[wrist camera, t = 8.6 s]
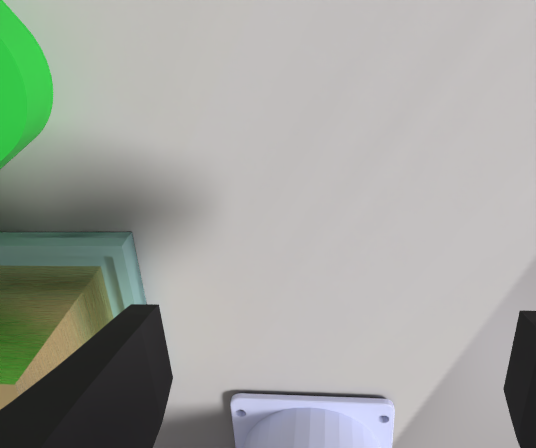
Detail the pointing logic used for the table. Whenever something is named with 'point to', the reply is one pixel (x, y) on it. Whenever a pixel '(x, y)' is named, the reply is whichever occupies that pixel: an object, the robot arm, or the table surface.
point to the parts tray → (81, 258)
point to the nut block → (46, 320)
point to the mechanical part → (21, 86)
